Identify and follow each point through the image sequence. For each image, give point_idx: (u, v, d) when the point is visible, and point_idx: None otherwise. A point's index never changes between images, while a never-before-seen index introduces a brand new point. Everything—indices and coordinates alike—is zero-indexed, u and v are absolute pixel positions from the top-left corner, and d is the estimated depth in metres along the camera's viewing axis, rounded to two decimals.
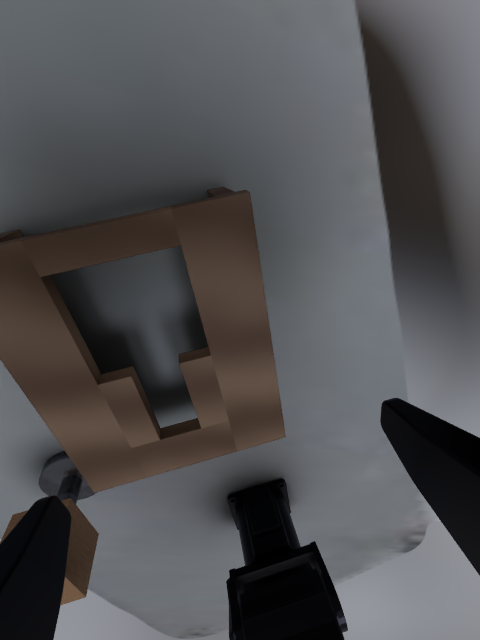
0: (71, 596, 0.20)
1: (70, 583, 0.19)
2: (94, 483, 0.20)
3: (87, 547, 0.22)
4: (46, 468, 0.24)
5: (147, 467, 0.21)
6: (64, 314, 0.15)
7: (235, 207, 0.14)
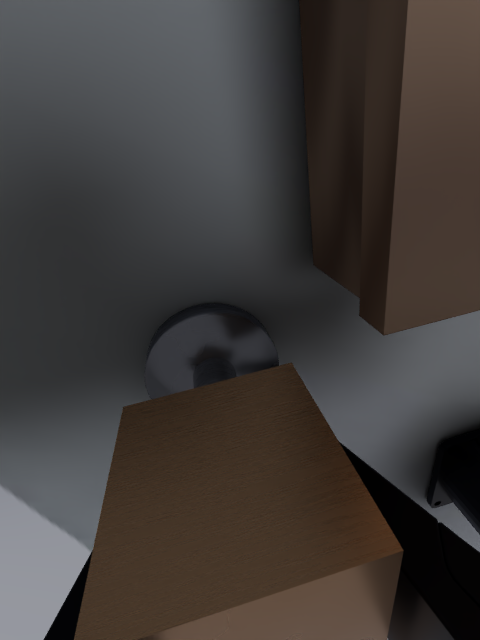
0: None
1: (384, 634, 0.05)
2: (403, 292, 0.06)
3: None
4: (168, 331, 0.10)
5: None
6: None
7: None
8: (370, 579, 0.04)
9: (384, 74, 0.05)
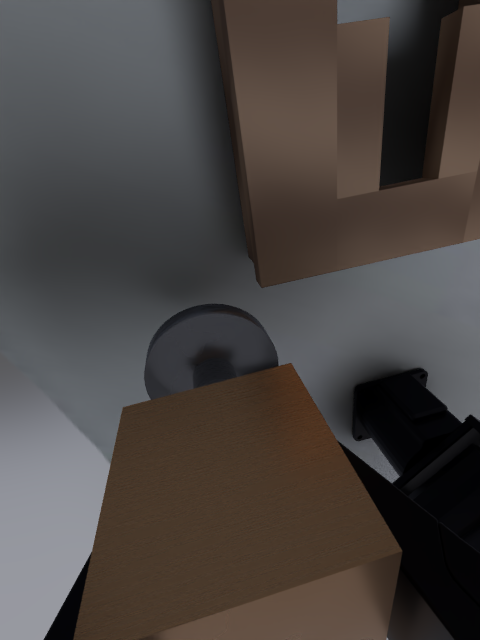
0: None
1: (384, 635, 0.05)
2: (266, 266, 0.13)
3: None
4: (168, 331, 0.10)
5: (344, 249, 0.14)
6: None
7: None
8: (370, 580, 0.04)
9: (244, 175, 0.12)
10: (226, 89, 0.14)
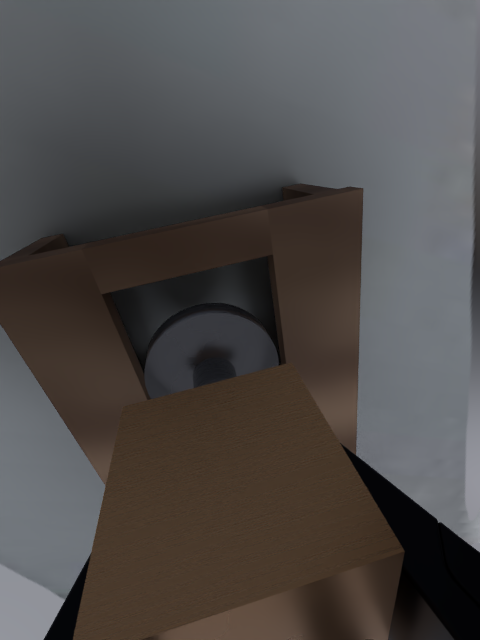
0: None
1: (385, 636, 0.05)
2: None
3: None
4: (168, 331, 0.10)
5: None
6: (123, 338, 0.12)
7: (343, 207, 0.11)
8: (371, 580, 0.04)
9: None
10: None
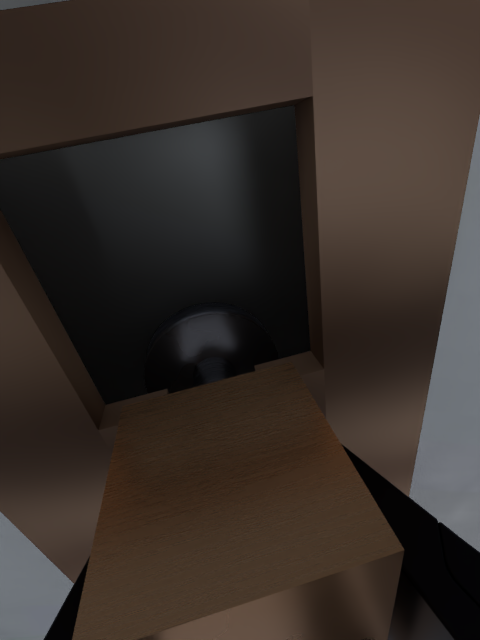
0: None
1: (385, 635, 0.05)
2: None
3: None
4: (168, 330, 0.10)
5: None
6: (19, 277, 0.06)
7: None
8: (370, 579, 0.04)
9: None
10: None
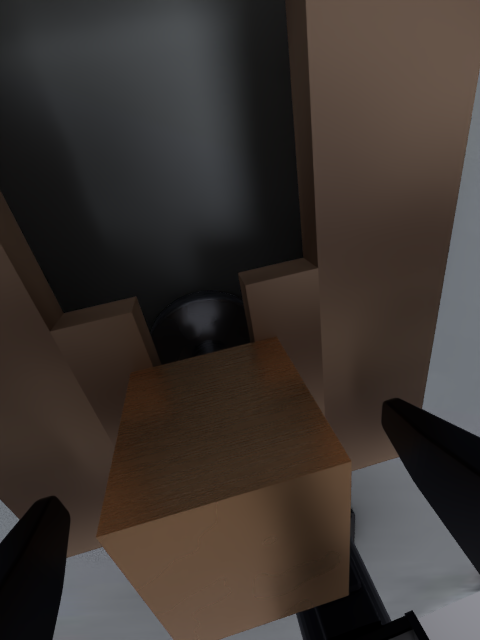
0: (321, 592, 0.07)
1: (347, 550, 0.06)
2: None
3: None
4: (169, 314, 0.11)
5: None
6: None
7: None
8: (327, 487, 0.05)
9: None
10: None
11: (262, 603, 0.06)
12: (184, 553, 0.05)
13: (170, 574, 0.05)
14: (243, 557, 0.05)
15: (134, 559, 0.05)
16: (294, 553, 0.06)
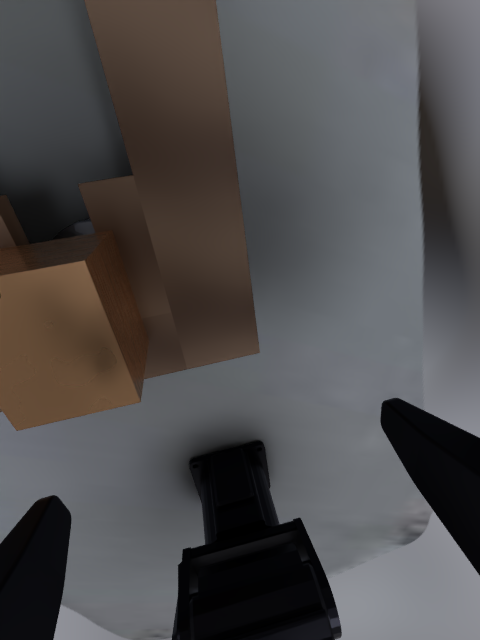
0: (114, 392, 0.10)
1: (118, 349, 0.09)
2: None
3: (137, 335, 0.12)
4: (60, 232, 0.14)
5: None
6: None
7: None
8: (75, 281, 0.08)
9: None
10: None
11: (66, 391, 0.09)
12: None
13: None
14: (33, 336, 0.08)
15: None
16: (74, 342, 0.09)
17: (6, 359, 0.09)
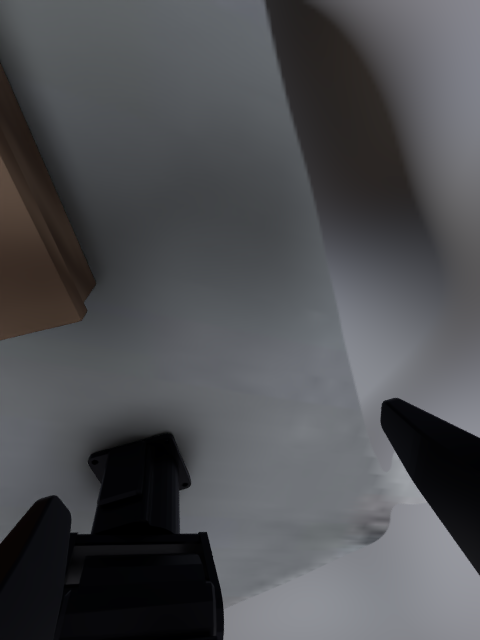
0: None
1: None
2: None
3: None
4: None
5: None
6: None
7: None
8: None
9: None
10: None
11: None
12: None
13: None
14: None
15: None
16: None
17: None
